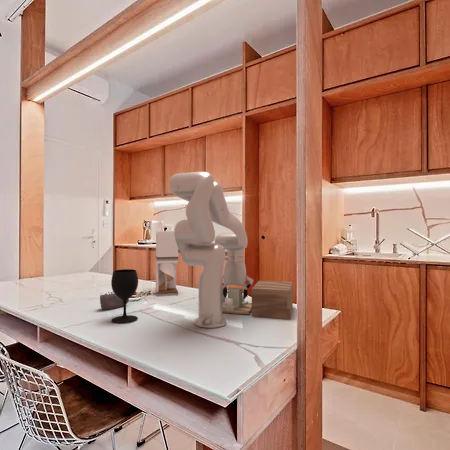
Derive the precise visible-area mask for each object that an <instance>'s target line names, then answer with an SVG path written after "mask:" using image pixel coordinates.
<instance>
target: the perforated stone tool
mask: <svg viewBox="0 0 450 450" xmlns="http://www.w3.org/2000/svg"><path fill="white" fill-rule="evenodd" d="M129 301H130V298H129V299H128V300H127V302H126V305H127V304H128V303H129ZM99 304H100V308H101V310H102V311H103V310H106V311H107V310H114V309H117V308H121V307H124V306H123V300H122V299H120V298H119V297H118V296H116V295H115V293H110V294H100V295H99Z"/></svg>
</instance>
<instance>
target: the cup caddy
mask: <svg viewBox="0 0 450 450" xmlns="http://www.w3.org/2000/svg"><path fill="white" fill-rule="evenodd" d="M248 303H249V301H247V300H245V299H244V298H243V288H239V287H232V286H231V287H227V297H226V298H225V305H223V309H226V310H232V311H233V310H235V309H237V308H240V307H242V306H245V305H247V304H248Z"/></svg>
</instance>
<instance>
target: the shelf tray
mask: <svg viewBox="0 0 450 450" xmlns="http://www.w3.org/2000/svg"><path fill="white" fill-rule="evenodd" d="M225 298H227V296H226V297H224V295H223V305H225ZM250 313H252V302H248V304H247V305H245V306H242V307H240V308H237V309H235V310H233V311H232V310H226V309H223V314H238V315H250Z"/></svg>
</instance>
